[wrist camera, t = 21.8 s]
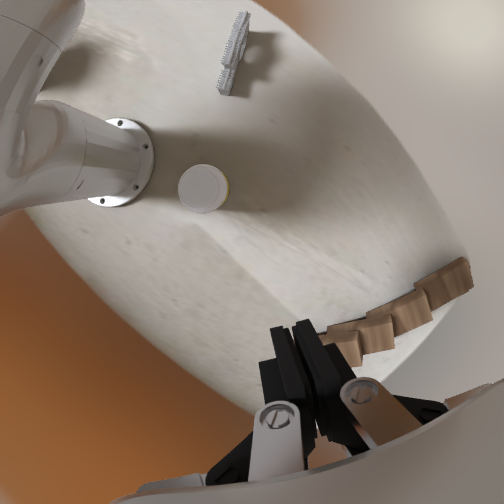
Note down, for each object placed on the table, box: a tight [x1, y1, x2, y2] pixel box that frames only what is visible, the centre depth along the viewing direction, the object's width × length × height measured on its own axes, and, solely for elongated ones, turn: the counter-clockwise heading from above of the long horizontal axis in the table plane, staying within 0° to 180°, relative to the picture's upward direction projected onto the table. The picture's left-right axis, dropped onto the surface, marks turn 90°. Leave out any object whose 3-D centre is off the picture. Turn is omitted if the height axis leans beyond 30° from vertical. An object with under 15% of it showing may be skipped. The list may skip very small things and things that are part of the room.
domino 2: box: [326, 314, 395, 355], centre depth 39 cm, size 2×5×10 cm
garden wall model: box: [216, 11, 251, 96], centre depth 29 cm, size 12×2×6 cm, turn 167°
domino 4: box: [414, 257, 474, 311], centre depth 37 cm, size 2×5×10 cm
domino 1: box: [293, 330, 363, 367], centre depth 38 cm, size 2×5×10 cm
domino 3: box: [366, 288, 433, 337], centre depth 38 cm, size 2×5×10 cm
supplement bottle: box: [178, 164, 230, 213], centre depth 31 cm, size 5×5×10 cm
